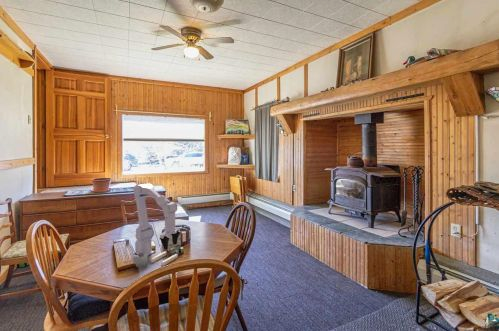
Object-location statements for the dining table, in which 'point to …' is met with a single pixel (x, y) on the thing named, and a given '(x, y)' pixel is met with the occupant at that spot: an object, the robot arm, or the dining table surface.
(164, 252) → the guide rails
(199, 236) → the dining table surface
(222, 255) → the dining table surface
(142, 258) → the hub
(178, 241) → the ink box
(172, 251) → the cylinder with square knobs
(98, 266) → the dining table surface
